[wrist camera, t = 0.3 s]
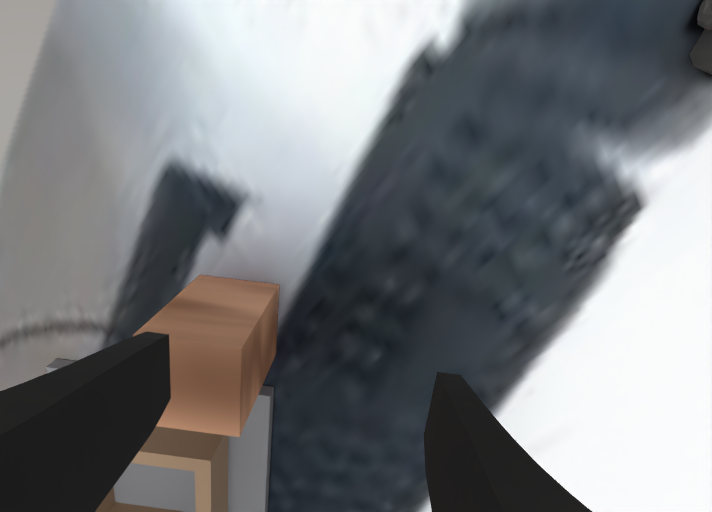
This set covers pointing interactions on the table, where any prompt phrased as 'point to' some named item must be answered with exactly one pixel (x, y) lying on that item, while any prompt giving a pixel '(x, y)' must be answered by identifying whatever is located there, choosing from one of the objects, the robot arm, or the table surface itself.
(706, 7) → the walkie-talkie
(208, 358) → the tan wooden block
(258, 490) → the dock
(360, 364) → the table surface
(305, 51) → the table surface
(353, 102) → the table surface
